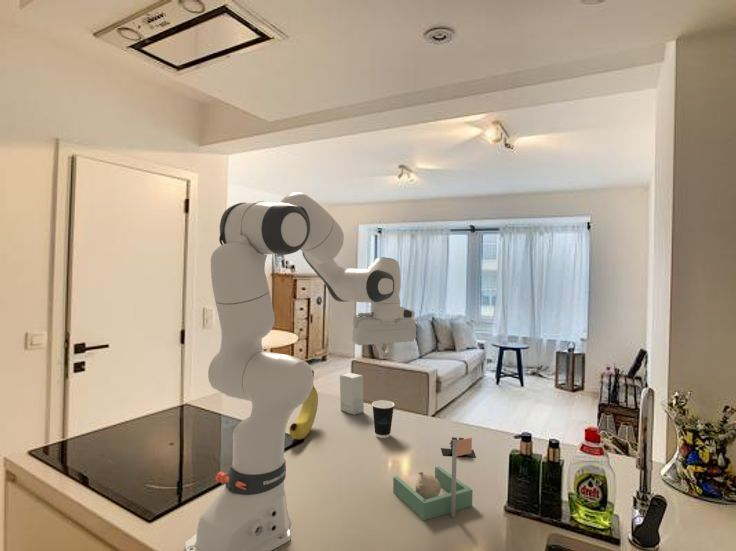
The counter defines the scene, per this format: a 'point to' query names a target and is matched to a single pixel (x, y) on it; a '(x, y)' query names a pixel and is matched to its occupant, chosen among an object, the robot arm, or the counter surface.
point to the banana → (305, 416)
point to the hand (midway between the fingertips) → (384, 357)
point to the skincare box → (351, 393)
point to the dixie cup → (382, 417)
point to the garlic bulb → (427, 486)
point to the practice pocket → (457, 490)
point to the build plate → (449, 450)
